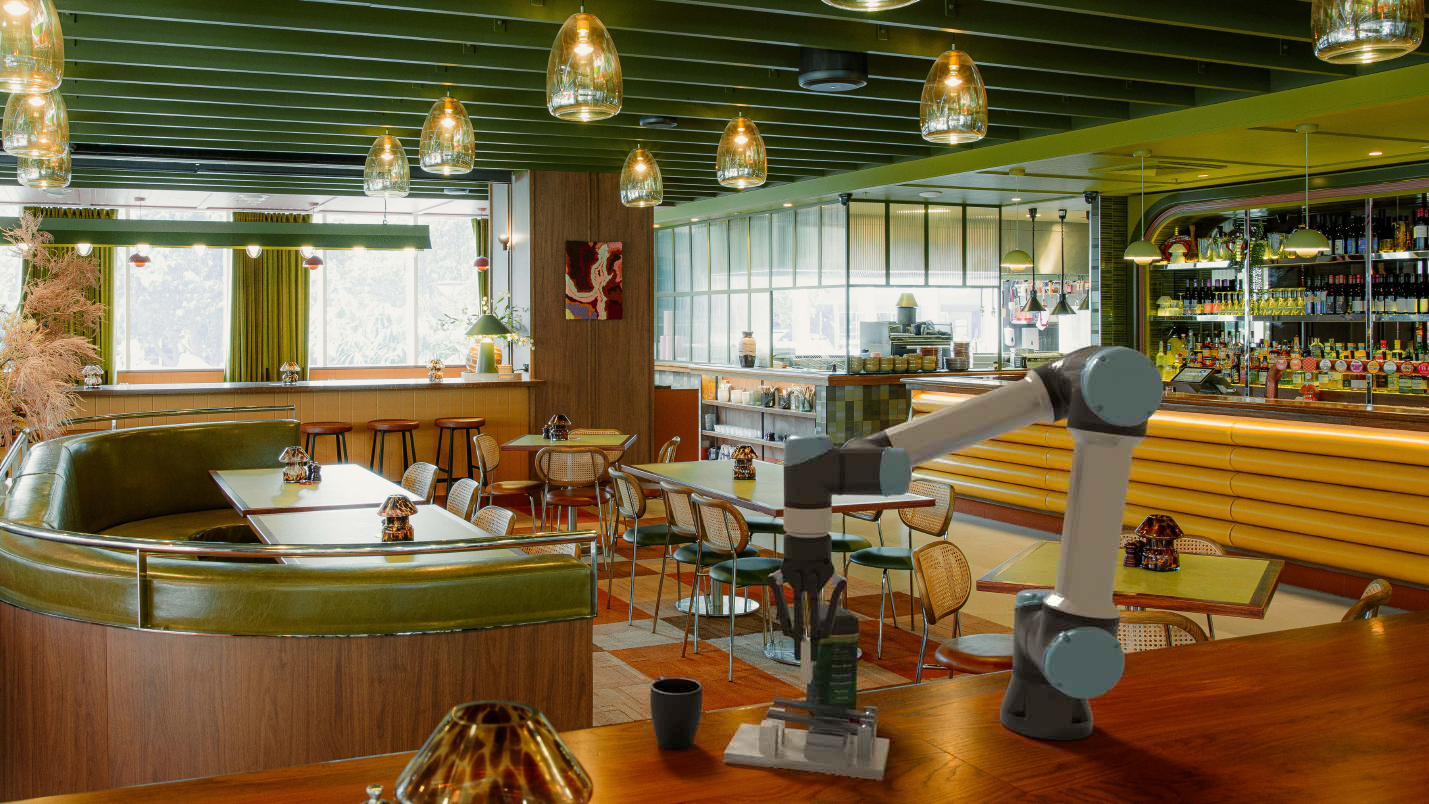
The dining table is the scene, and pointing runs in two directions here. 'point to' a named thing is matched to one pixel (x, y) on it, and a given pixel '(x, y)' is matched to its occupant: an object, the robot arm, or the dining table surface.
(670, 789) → the dining table surface
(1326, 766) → the dining table surface
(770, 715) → the outer strap
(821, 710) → the inner strap
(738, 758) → the board
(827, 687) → the coffee jar
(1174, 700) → the dining table surface
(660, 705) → the mug
